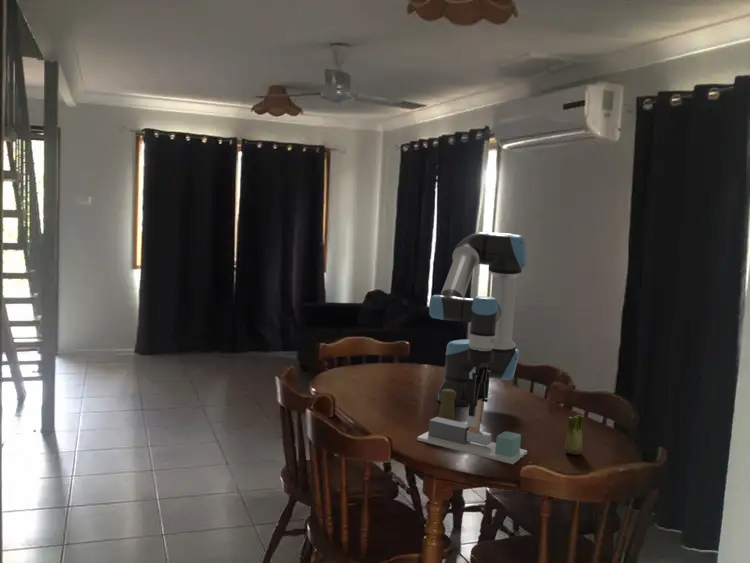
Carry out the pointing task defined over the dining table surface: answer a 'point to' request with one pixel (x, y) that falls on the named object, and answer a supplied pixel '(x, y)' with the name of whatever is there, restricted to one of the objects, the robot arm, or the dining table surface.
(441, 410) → the cork
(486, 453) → the base board
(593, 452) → the dining table surface
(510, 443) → the socket block
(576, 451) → the fennel bulb
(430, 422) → the outer sleeve
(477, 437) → the inner bar
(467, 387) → the robot arm
